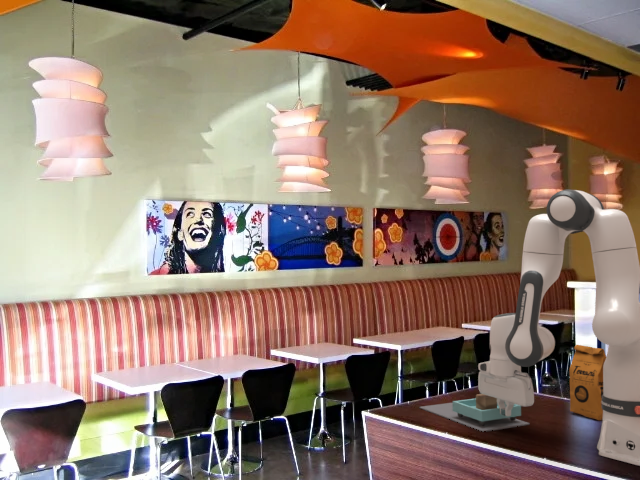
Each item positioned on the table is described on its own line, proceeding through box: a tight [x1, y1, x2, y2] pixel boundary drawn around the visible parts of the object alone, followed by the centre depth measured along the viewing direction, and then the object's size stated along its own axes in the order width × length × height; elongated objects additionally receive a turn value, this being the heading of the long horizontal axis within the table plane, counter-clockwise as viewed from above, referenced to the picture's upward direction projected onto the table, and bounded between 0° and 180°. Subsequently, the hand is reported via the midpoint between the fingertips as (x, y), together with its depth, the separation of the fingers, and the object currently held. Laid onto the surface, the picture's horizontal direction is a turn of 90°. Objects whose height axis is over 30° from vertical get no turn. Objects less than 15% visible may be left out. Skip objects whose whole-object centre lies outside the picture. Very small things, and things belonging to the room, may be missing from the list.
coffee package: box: [569, 344, 607, 421], centre depth 210 cm, size 10×12×22 cm
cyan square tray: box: [452, 397, 522, 425], centre depth 204 cm, size 14×15×5 cm
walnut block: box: [475, 393, 497, 410], centre depth 204 cm, size 4×4×4 cm
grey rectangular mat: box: [419, 402, 530, 433], centre depth 211 cm, size 32×18×1 cm, turn 26°
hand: (505, 415), depth 195 cm, fingers closed
